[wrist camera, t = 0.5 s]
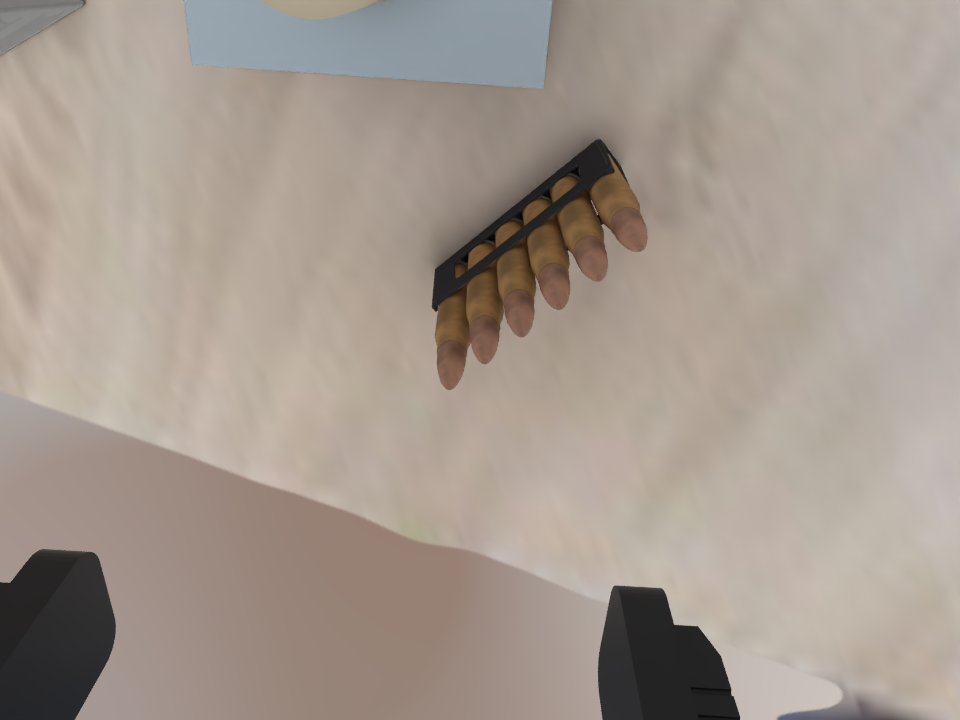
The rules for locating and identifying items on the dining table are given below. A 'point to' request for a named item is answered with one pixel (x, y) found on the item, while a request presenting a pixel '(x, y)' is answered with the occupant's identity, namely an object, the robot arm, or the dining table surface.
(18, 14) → the skincare box
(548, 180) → the ammunition clip
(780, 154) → the dining table surface
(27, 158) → the dining table surface
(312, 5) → the lid
